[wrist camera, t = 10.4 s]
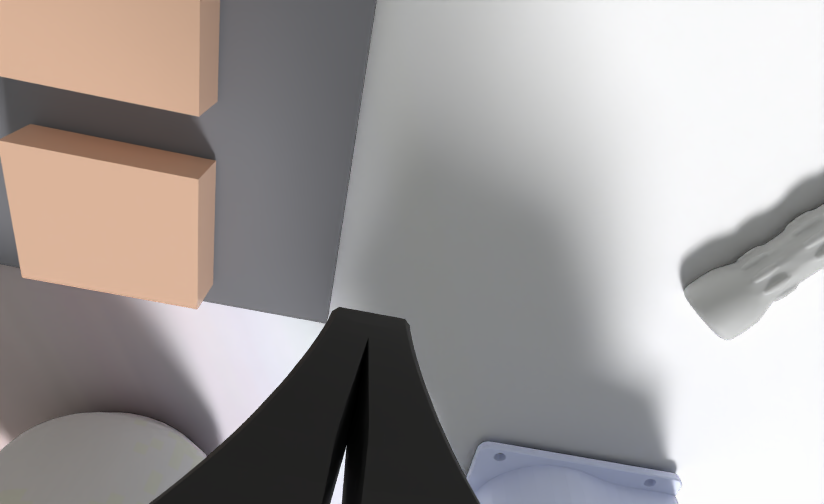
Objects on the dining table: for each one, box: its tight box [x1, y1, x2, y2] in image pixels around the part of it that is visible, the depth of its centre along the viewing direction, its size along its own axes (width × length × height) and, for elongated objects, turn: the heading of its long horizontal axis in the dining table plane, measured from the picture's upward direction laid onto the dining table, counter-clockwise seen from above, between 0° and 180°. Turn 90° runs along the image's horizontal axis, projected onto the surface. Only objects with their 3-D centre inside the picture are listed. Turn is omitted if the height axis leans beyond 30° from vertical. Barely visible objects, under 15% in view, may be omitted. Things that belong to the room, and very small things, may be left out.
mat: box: [0, 0, 377, 323], centre depth 18 cm, size 14×14×1 cm
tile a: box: [0, 124, 216, 309], centre depth 19 cm, size 2×5×6 cm
